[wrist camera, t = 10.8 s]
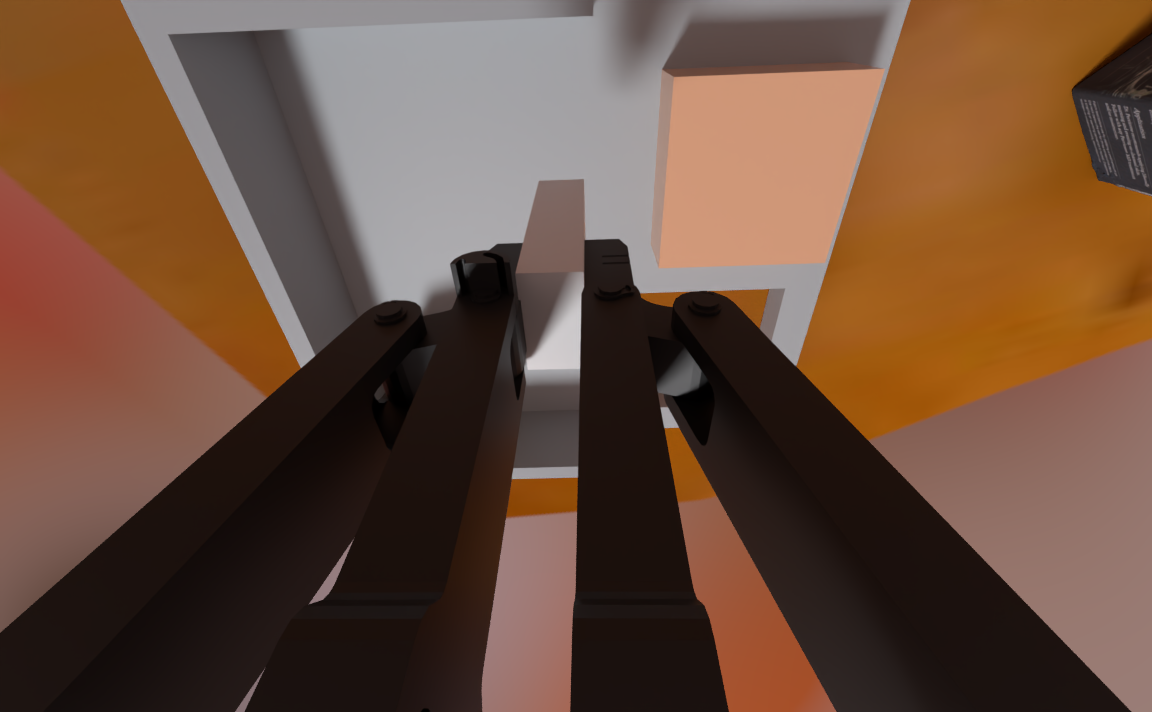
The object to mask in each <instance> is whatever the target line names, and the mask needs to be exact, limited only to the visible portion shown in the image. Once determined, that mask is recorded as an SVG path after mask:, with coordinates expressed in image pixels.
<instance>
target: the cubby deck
mask: <svg viewBox="0 0 1152 712" xmlns="http://www.w3.org/2000/svg"><path fill="white" fill-rule="evenodd" d="M121 2H122V4H123V6H124V8H125V10H126V12H127V14H128V16H129V18H130V21H131V23H132V25H133V27H134V29H135V31H136V33H137V35H138V37H139V39H140V41H141V43H142V45H143V47H144V49H145V51H146V53H147V55H148V57H149V59H150V61H151V63H152V65H153V67H154V69H155V71H156V73H157V75H158V78H159V80H160V82H161V84H162V86H163V88H164V90H165V92H166V94H167V96H168V98H169V100H170V102H171V104H172V106H173V108H174V110H175V112H176V114H177V116H178V118H179V120H180V122H181V124H182V126H183V128H184V130H185V132H186V135H187V137H188V139H189V141H190V143H191V145H192V147H193V149H194V151H195V153H196V155H197V157H198V159H199V161H200V163H201V165H202V167H203V169H204V171H205V173H206V175H207V177H208V179H209V181H210V183H211V185H212V187H213V189H214V191H215V194H216V196H217V198H218V200H219V202H220V204H221V206H222V208H223V210H224V212H225V214H226V216H227V218H228V220H229V222H230V224H231V226H232V228H233V230H234V232H235V234H236V236H237V238H238V240H239V242H240V244H241V246H242V248H243V251H244V253H245V255H246V257H247V259H248V261H249V263H250V265H251V267H252V269H253V271H254V273H255V275H256V277H257V279H258V281H259V283H260V285H261V287H262V289H263V291H264V293H265V295H266V297H267V299H268V301H269V303H270V305H271V308H272V310H273V312H274V314H275V316H276V318H277V320H278V322H279V324H280V326H281V328H282V330H283V332H284V334H285V336H286V338H287V340H288V342H289V344H290V346H291V348H292V350H293V352H294V354H295V356H296V358H297V360H298V362H299V365H300V367H301V368H302V367H303V366H304V365H305V364H306V363H308V362H309V361H310V360H311V359H312V358H313V357H314V356H316V355H317V354H318V353H319V352H320V351H321V350H322V349H324V348H325V347H326V346H327V345H328V344H329V343H330V342H331V341H333V340H334V339H335V338H336V337H337V336H338V335H339V334H341V333H342V332H343V331H344V330H345V329H346V328H347V327H349V326H350V325H351V324H352V323H353V322H354V321H355V320H356V319H358V318H359V317H360V316H361V315H362V314H363V313H364V312H366V311H367V310H369V309H371V308H372V307H374V306H377V305H379V304H381V303H383V302H386V301H389V302H390V301H391V300H407V301H411V302H415V303H417V304H418V305H419V306H420V307H421V310H422V314H423V316H425V315H430V314H435V313H440V312H444V311H448V310H451V309H452V307H453V305H454V303H455V300H456V298H457V294H456V290H455V285H454V281H453V276H452V272H451V267H450V263H451V262H452V261H453V260H454V259H455V258H457V257H459V256H461V255H463V254H466V253H470V252H473V251H482V250H490V249H491V248H492V247H494V246H495V245H496V244H503V243H523V241H524V237H525V233H526V229H527V225H528V221H529V218H530V214H531V210H532V206H533V202H534V198H535V194H536V190H537V186H538V182H539V181H545V180H575V179H584V195H585V233H586V240H595V239H620V240H621V241H622V242H623V243H624V244H626V245H627V246H628V252H629V258H630V264H631V270H632V276H633V281H634V285H635V286H637V288H638V290H639V291H640V293H658V292H689V291H719V290H750V289H769V293H768V297H767V302H766V306H765V310H764V314H763V318H762V323H761V327H760V330H761V331H762V332H763V333H764V334H765V335H766V336H767V337H768V338H769V339H770V340H771V341H772V342H773V343H774V344H775V345H776V346H777V347H778V348H779V350H780V351H781V352H782V353H783V354H784V355H785V356H786V357H787V358H788V359H789V360H790V361H791V362H792V363H793V364H794V365H795V366H796V365H797V362H798V358H799V355H800V352H801V349H802V346H803V342H804V339H805V336H806V333H807V330H808V326H809V323H810V320H811V317H812V314H813V310H814V307H815V304H816V301H817V298H818V294H819V291H820V288H821V285H822V282H823V278H824V275H825V272H826V269H827V266H828V262H829V259H830V256H831V253H832V250H833V246H834V243H835V240H836V237H837V234H838V230H839V227H840V224H841V221H842V218H843V214H844V211H845V208H846V205H847V202H848V198H849V195H850V192H851V189H852V186H853V182H854V179H855V176H856V173H857V170H858V166H859V163H860V160H861V157H862V154H863V150H864V147H865V144H866V141H867V138H868V134H869V131H870V128H871V125H872V122H873V118H874V115H875V112H876V109H877V106H878V102H879V99H880V96H881V93H882V90H883V86H884V83H885V80H886V77H887V74H888V70H889V67H890V64H891V61H892V58H893V54H894V51H895V48H896V45H897V42H898V38H899V35H900V32H901V29H902V26H903V22H904V19H905V16H906V13H907V10H908V6H909V3H910V0H121ZM833 62H851V63H856V64H862V65H867V66H873V67H878V68H884V69H885V71H884V74H883V77H882V80H881V84H880V87H879V90H878V93H877V97H876V100H875V103H874V106H873V109H872V113H871V116H870V119H869V122H868V126H867V129H866V132H865V135H864V139H863V142H862V145H861V148H860V151H859V155H858V158H857V161H856V164H855V168H854V171H853V174H852V177H851V181H850V184H849V187H848V190H847V194H846V197H845V200H844V203H843V206H842V210H841V213H840V216H839V219H838V223H837V226H836V229H835V232H834V236H833V239H832V242H831V245H830V249H829V252H828V255H827V258H826V261H825V263H810V264H779V265H748V266H717V267H686V268H658V265H657V262H656V259H655V256H654V253H653V250H652V247H651V229H652V213H653V198H654V182H655V167H656V152H657V136H658V121H659V106H660V90H661V75H662V69H682V68H707V67H733V66H758V65H783V64H808V63H833ZM524 371H525V378H526V387H525V394H524V400H523V407H522V414H521V420H520V427H519V434H518V440H517V447H516V454H515V460H514V467H513V473H512V479H531V478H570V477H578V447H579V394H580V369H543V370H528V368H527V361H526V358H525V364H524ZM384 394H385V390H384V388H383V385H381V386H380V387H379V388H378V389H377V391H376V393H375V398H376V399H377V400H379V399H380V398H381V397H382V396H383V395H384ZM658 396H659V402H660V407H661V413H662V418H663V424H664V428H679V426H678V425H677V423H676V421H675V419H674V417H673V416H672V414H671V412H670V410H669V408H668V407H667V405H666V403H665V399H664V394H663V393H658Z"/></svg>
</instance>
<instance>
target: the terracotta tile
mask: <svg viewBox="0 0 1152 712" xmlns="http://www.w3.org/2000/svg"><path fill="white" fill-rule="evenodd" d="M884 71H885V69H884V68H878V67H873V66H867V65H862V64H856V63H851V62H833V63H808V64H783V65H758V66H733V67H707V68H682V69H662V75H661V90H660V106H659V121H658V136H657V152H656V167H655V182H654V198H653V213H652V229H651V247H652V250H653V253H654V256H655V259H656V262H657V265H658V268H686V267H717V266H748V265H779V264H810V263H825V261H826V258H827V255H828V252H829V249H830V245H831V242H832V239H833V236H834V232H835V229H836V226H837V223H838V219H839V216H840V213H841V210H842V206H843V203H844V200H845V197H846V194H847V190H848V187H849V184H850V181H851V177H852V174H853V171H854V168H855V164H856V161H857V158H858V155H859V151H860V148H861V145H862V142H863V139H864V135H865V132H866V129H867V126H868V122H869V119H870V116H871V113H872V109H873V106H874V103H875V100H876V97H877V93H878V90H879V87H880V84H881V80H882V77H883V74H884Z"/></svg>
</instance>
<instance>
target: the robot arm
mask: <svg viewBox="0 0 1152 712" xmlns="http://www.w3.org/2000/svg"><path fill="white" fill-rule="evenodd" d="M450 267H451V272H452V276H453V281H454V285H455V290H456V294H457V298H456V300H455V303H454V305H453V307H452V309H451V310H448V311H444V312H440V313H435V314H430V315H425V316H423V314H422V310H421V307H420V306H419V305H418V304H417V303H415V302H411V301H407V300H391V301H390V302H389V301H386V302H383V303H381V304H379V305H377V306H374V307H372V308H371V309H369V310H367V311H366V312H364V313H363V314H362V315H361V316H360V317H359V318H358V319H356V320H355V321H354V322H353V323H352V324H351V325H350V326H349V327H347V328H346V329H345V330H344V331H343V332H342V333H341V334H339V335H338V336H337V337H336V338H335V339H334V340H333V341H331V342H330V343H329V344H328V345H327V346H326V347H325V348H324V349H322V350H321V351H320V352H319V353H318V354H317V355H316V356H314V357H313V358H312V359H311V360H310V361H309V362H308V363H306V364H305V365H304V366H303V367H302V368H301V369H300V370H299V371H297V372H296V373H295V374H294V375H293V376H292V377H291V378H289V379H288V380H287V381H286V382H285V383H284V384H283V385H281V386H280V387H279V388H278V389H277V390H276V391H275V392H274V393H272V394H271V395H270V396H269V397H268V398H267V399H266V400H264V401H263V402H262V403H261V404H260V405H259V406H258V407H257V408H255V409H254V410H253V411H252V412H251V413H250V414H249V415H247V416H246V417H245V418H244V419H243V420H242V421H241V422H239V423H238V424H237V425H236V426H235V427H234V428H233V429H231V430H230V431H229V432H228V433H227V434H226V435H225V436H223V437H222V438H221V439H220V440H219V441H218V442H217V443H216V444H215V445H214V446H212V447H211V448H210V449H209V450H208V451H206V452H205V453H204V454H203V455H202V456H201V457H200V458H198V459H197V460H196V461H195V462H194V463H193V464H192V465H191V466H189V467H188V468H187V469H186V470H185V471H184V472H183V473H181V475H179V476H178V477H177V478H176V479H175V480H174V481H172V482H171V483H170V484H169V485H168V486H167V487H166V488H164V489H163V490H162V491H161V492H160V493H159V494H158V495H157V496H155V497H154V498H153V499H152V500H151V501H150V502H149V503H147V504H146V505H145V506H144V507H143V508H142V509H141V510H139V511H138V512H137V513H136V514H135V515H134V516H133V517H131V518H130V519H129V520H128V521H127V522H126V523H125V524H123V526H121V527H120V528H119V529H118V530H117V531H116V532H115V533H113V534H112V535H111V536H110V537H109V538H108V539H106V540H105V541H104V542H103V543H102V544H101V545H100V546H98V547H97V548H96V549H95V550H94V551H93V552H92V553H90V554H89V555H88V556H87V557H86V558H85V559H84V560H83V561H81V562H80V563H79V564H78V565H77V566H76V567H75V568H74V569H72V570H71V571H70V572H69V573H68V574H67V575H66V576H64V577H63V578H62V579H61V580H60V581H59V582H58V583H56V584H55V585H54V586H53V587H52V588H51V589H50V590H48V591H47V592H46V593H45V594H44V595H43V596H42V597H41V598H39V599H38V600H37V601H36V602H35V603H34V604H33V605H31V606H30V607H29V608H28V609H27V610H26V611H25V612H23V613H22V614H21V615H20V616H19V617H18V618H17V619H16V620H14V621H13V622H12V623H11V624H10V625H9V626H8V627H7V628H5V629H4V630H3V631H2V632H1V633H0V712H235V711H236V709H237V708H238V706H239V705H240V703H241V702H242V701H243V699H244V698H245V696H246V695H247V693H248V692H249V690H250V689H251V687H252V686H253V685H254V683H255V682H256V680H257V679H258V677H259V676H260V674H261V673H262V671H263V670H264V669H265V670H264V672H263V674H262V676H261V678H260V680H259V682H258V685H257V687H256V689H255V691H254V693H253V695H252V697H251V699H250V701H249V703H248V705H247V708H246V710H245V712H482V695H481V694H482V693H481V689H482V688H481V687H482V674H483V667H484V660H485V653H486V647H487V640H488V633H489V627H490V620H491V612H492V607H493V600H494V593H495V587H496V580H497V573H498V567H499V560H500V553H501V547H502V540H503V533H504V527H505V520H506V513H507V507H508V500H509V493H510V487H511V480H512V473H513V467H514V460H515V454H516V447H517V440H518V434H519V427H520V420H521V414H522V407H523V400H524V394H525V387H526V378H525V371H524V364H525V358H526V361H527V368H528V370H543V369H580V394H579V447H578V499H577V555H576V594H575V602H574V608H573V627H572V629H573V630H572V664H571V666H572V667H571V707H570V710H571V711H570V712H729V710H728V705H727V701H726V695H725V690H724V685H723V680H722V675H721V670H720V666H719V660H718V655H717V650H716V645H715V640H714V636H713V632H712V628H711V624H710V619H709V617H708V614H707V612H706V609H705V606H704V605H703V604H702V603H701V602H700V601H699V600H697V598H696V595H695V593H694V589H693V584H692V579H691V574H690V568H689V563H688V557H687V552H686V546H685V540H684V535H683V530H682V524H681V518H680V513H679V507H678V502H677V496H676V490H675V485H674V479H673V474H672V468H671V463H670V457H669V452H668V446H667V440H666V435H665V429H664V424H663V418H662V413H661V407H660V402H659V396H658V393H663V394H664V399H665V403H666V405H667V407H668V408H669V410H670V412H671V414H672V416H673V417H674V419H675V421H676V423H677V425H678V426H679V428H680V430H681V432H682V434H683V435H684V437H685V439H686V441H687V443H688V444H689V446H690V448H691V450H692V452H693V453H694V455H695V457H696V459H697V461H698V462H699V464H700V466H701V468H702V470H703V471H704V473H705V475H706V477H707V479H708V481H709V482H710V484H711V486H712V488H713V490H714V491H715V493H716V495H717V497H718V499H719V500H720V502H721V504H722V506H723V507H724V509H725V511H726V513H727V515H728V517H729V518H730V520H731V522H732V524H733V526H734V527H735V529H736V531H737V533H738V535H739V536H740V538H741V540H742V542H743V543H744V545H745V547H746V549H747V551H748V553H749V554H750V556H751V558H752V560H753V562H754V563H755V565H756V567H757V569H758V571H759V573H760V574H761V576H762V578H763V580H764V581H765V583H766V585H767V587H768V588H769V591H770V592H771V594H772V596H773V598H774V600H775V601H776V603H777V605H778V607H779V609H780V610H781V612H782V614H783V616H784V617H785V619H786V621H787V623H788V625H789V627H790V628H791V630H792V632H793V634H794V636H795V638H796V639H797V641H798V643H799V645H800V647H801V648H802V650H803V652H804V654H805V656H806V657H807V659H808V661H809V663H810V665H811V666H812V668H813V670H814V672H815V673H816V675H817V677H818V679H819V680H820V682H821V684H822V686H823V688H824V689H825V691H826V693H827V695H828V697H829V699H830V701H831V702H832V704H833V706H834V708H835V710H836V711H837V712H1131V711H1130V710H1129V709H1128V708H1127V707H1126V706H1125V705H1124V704H1123V703H1122V702H1121V701H1120V700H1119V698H1118V697H1116V696H1115V694H1114V693H1113V692H1112V691H1111V690H1110V689H1109V688H1108V687H1107V686H1106V685H1105V684H1104V683H1103V682H1102V681H1101V680H1100V679H1099V678H1098V677H1097V676H1096V675H1095V674H1094V673H1093V672H1092V671H1091V670H1090V669H1089V668H1088V667H1087V666H1086V665H1085V663H1084V662H1083V661H1082V660H1081V659H1080V658H1079V657H1078V656H1077V655H1076V654H1075V653H1074V652H1073V651H1072V650H1071V649H1070V648H1069V647H1068V646H1067V645H1066V644H1065V643H1064V642H1063V641H1062V640H1061V639H1060V638H1059V637H1058V636H1057V635H1056V634H1055V633H1054V632H1053V631H1052V630H1051V629H1050V628H1049V626H1048V625H1047V624H1046V623H1045V622H1044V621H1043V620H1042V619H1041V618H1040V617H1039V616H1038V615H1037V614H1036V613H1035V612H1034V611H1033V610H1032V609H1031V608H1030V607H1029V606H1028V605H1027V604H1026V603H1025V602H1024V601H1023V600H1022V599H1021V598H1020V597H1019V596H1018V595H1017V593H1015V591H1014V590H1013V589H1012V588H1011V587H1010V586H1009V585H1008V584H1007V583H1006V582H1005V581H1004V580H1003V579H1002V578H1001V577H1000V576H999V575H998V574H997V573H996V572H995V571H994V570H993V569H992V568H991V567H990V566H989V565H988V564H987V563H986V562H985V561H984V560H983V558H982V557H981V556H980V555H979V554H977V552H976V551H975V550H974V549H973V548H972V547H971V546H970V545H969V544H968V543H967V542H966V541H965V540H964V539H963V538H962V537H961V536H960V535H959V534H958V533H957V532H956V531H955V530H954V529H953V528H952V527H951V526H950V525H949V523H948V522H947V521H946V520H945V519H944V518H943V517H942V516H941V515H940V514H939V513H938V512H937V511H936V510H935V509H934V508H933V507H932V506H931V505H930V504H929V503H928V502H927V501H926V500H925V499H924V498H923V497H922V496H921V495H920V494H919V493H918V492H917V491H916V490H915V488H914V487H913V486H912V485H911V484H910V483H909V482H908V481H907V480H906V479H905V478H904V477H903V476H902V475H901V474H900V473H899V472H898V471H897V470H896V469H895V468H894V467H893V466H892V465H891V464H890V463H889V462H888V461H887V460H886V459H885V458H884V457H883V456H882V455H881V454H880V452H879V451H878V450H876V448H875V447H874V446H873V445H872V444H871V443H870V442H869V441H868V440H867V439H866V438H865V437H864V436H863V435H862V434H861V433H860V432H859V431H858V430H857V429H856V428H855V427H854V426H853V425H852V424H851V423H850V422H849V421H848V420H847V418H846V417H845V416H844V415H843V414H842V413H841V412H840V411H839V410H838V409H837V408H836V407H835V406H834V405H833V404H832V403H831V402H830V401H829V400H828V399H827V398H826V397H825V396H824V395H823V394H822V393H821V392H820V391H819V390H818V389H817V388H816V387H815V386H814V385H813V383H812V382H811V381H810V380H809V379H808V378H807V377H806V376H805V375H804V374H803V373H802V372H801V371H800V370H799V369H798V368H797V367H796V366H795V365H794V364H793V363H792V362H791V361H790V360H789V359H788V358H787V357H786V356H785V355H784V354H783V353H782V352H781V351H780V350H779V348H778V347H777V346H776V345H775V344H774V343H773V342H772V341H771V340H770V339H769V338H768V337H767V336H766V335H765V334H764V333H763V332H762V331H761V330H760V329H759V328H758V327H757V326H756V325H755V324H754V323H753V322H752V321H751V320H750V319H749V318H748V317H747V316H746V315H745V314H744V312H743V311H742V310H741V309H740V308H739V307H738V306H737V305H736V304H735V303H734V302H733V301H731V300H730V299H728V298H727V297H725V296H723V295H720V294H717V293H715V292H710V291H709V292H707V291H695V292H689V293H685V294H682V295H680V296H679V297H678V298H676V299H675V301H674V304H673V307H667V306H661V305H657V304H653V303H650V302H648V301H646V300H644V299H642V298H641V296H640V291H639V290H638V288H637V286H635V285H634V281H633V276H632V270H631V264H630V258H629V252H628V246H627V245H626V244H624V243H623V242H622V241H621V240H620V239H595V240H586V233H585V195H584V179H575V180H545V181H539V182H538V186H537V190H536V194H535V198H534V202H533V206H532V210H531V214H530V218H529V221H528V225H527V229H526V233H525V237H524V241H523V243H503V244H496V245H495V246H494V247H492V248H491V249H490V250H482V251H473V252H470V253H466V254H463V255H461V256H459V257H457V258H455V259H454V260H453V261H452V262H451V263H450ZM381 385H383V388H384V390H385V394H384V395H383V396H382V397H381V398H380V399H379V400H377V399H376V398H375V393H376V391H377V389H378V388H379V387H380V386H381ZM354 537H355V538H354ZM353 539H354V540H353ZM352 540H353V543H352V545H351V547H350V550H349V552H348V554H347V557H346V559H345V562H344V564H343V566H342V568H341V571H340V573H339V575H338V578H337V580H336V582H335V584H334V586H333V588H332V590H331V592H330V593H329V594H328V595H327V596H326V597H325V598H324V599H323V600H321V601H318V602H315V603H312V604H309V603H310V601H311V600H312V599H313V597H314V596H315V594H316V593H317V591H318V590H319V588H320V587H321V585H322V584H323V582H324V581H325V580H326V578H327V577H328V575H329V574H330V572H331V571H332V569H333V568H334V567H335V565H336V564H337V562H338V561H339V559H340V558H341V556H342V555H343V553H344V552H345V550H346V549H347V547H348V546H349V545H350V543H351V542H352ZM308 604H309V605H308ZM265 667H266V668H265Z"/></svg>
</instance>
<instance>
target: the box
mask: <svg viewBox="0 0 1152 712" xmlns="http://www.w3.org/2000/svg"><path fill="white" fill-rule="evenodd" d="M1072 96H1073V100H1074V103H1075V107H1076V110H1077V114H1078V117H1079V121H1080V125H1081V128H1082V132H1083V135H1084V138H1085V141H1086V144H1087V147H1088V149H1089V153H1090V156H1091V159H1092V167H1093V169H1094V170H1095V172H1096V174H1097V178H1098V180H1099V181H1104V182H1107V183H1112V184H1114V185H1116V186H1118V187H1125V188H1126V189H1130V190H1132V191H1137V192H1140V193H1143V194H1146V195H1149V196H1152V34H1151V35H1149V36H1148V37H1146V38H1145V39H1143V40H1142V41H1140V42H1139V43H1138V44H1136V45H1135V46H1133V47H1132V48H1130V49H1129V50H1128V51H1126V52H1125V53H1123V54H1122V55H1120V56H1119V57H1117V58H1116V59H1115V60H1113V61H1112V62H1110V63H1109V64H1107V65H1106V66H1104V67H1103V68H1102V69H1100V70H1099V71H1097V72H1096V73H1094V74H1093V75H1092V76H1090V77H1089V78H1087V79H1085V80H1084V81H1083V82H1081V83H1080V84H1079V85H1077V86H1076V87H1074V88H1073V90H1072Z"/></svg>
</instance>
